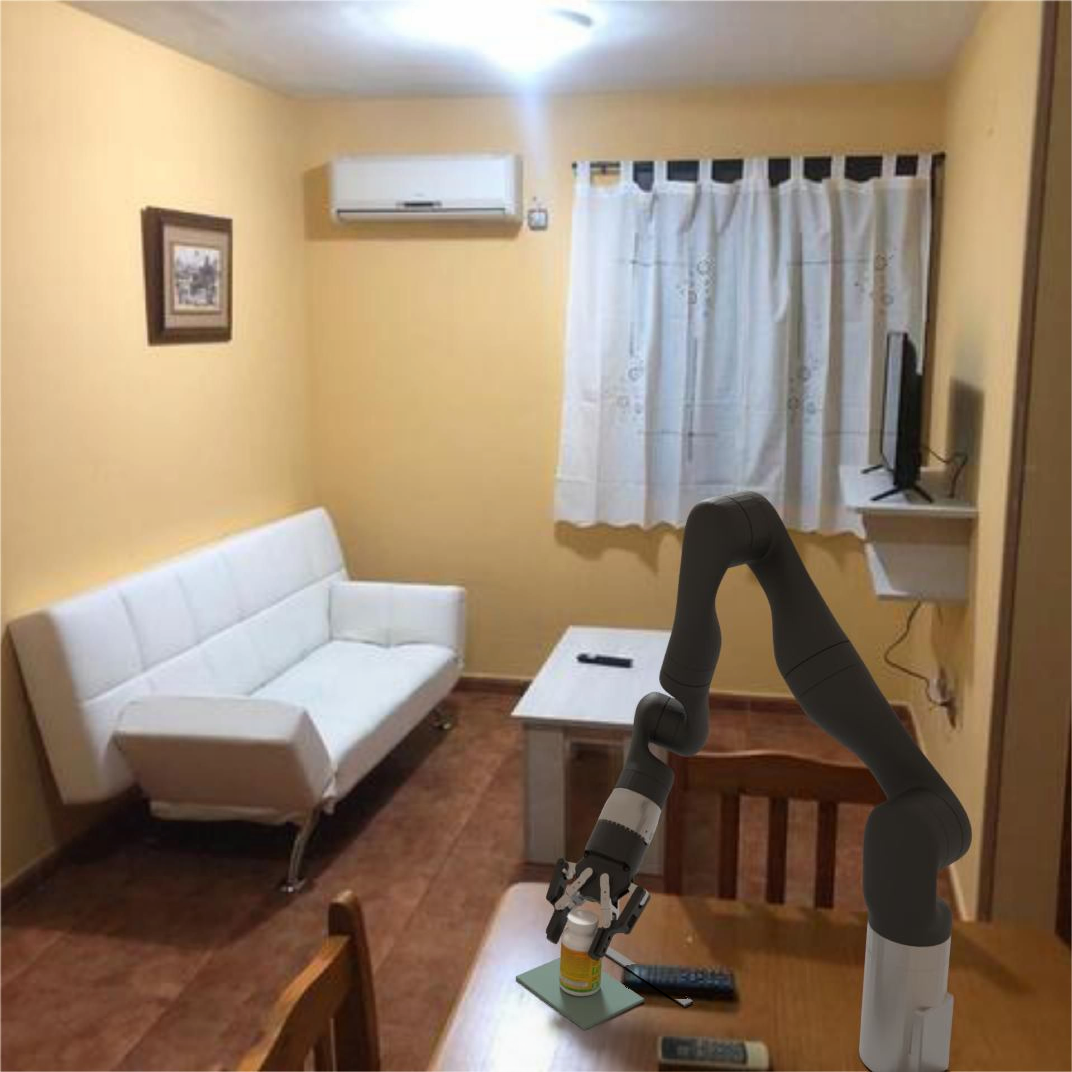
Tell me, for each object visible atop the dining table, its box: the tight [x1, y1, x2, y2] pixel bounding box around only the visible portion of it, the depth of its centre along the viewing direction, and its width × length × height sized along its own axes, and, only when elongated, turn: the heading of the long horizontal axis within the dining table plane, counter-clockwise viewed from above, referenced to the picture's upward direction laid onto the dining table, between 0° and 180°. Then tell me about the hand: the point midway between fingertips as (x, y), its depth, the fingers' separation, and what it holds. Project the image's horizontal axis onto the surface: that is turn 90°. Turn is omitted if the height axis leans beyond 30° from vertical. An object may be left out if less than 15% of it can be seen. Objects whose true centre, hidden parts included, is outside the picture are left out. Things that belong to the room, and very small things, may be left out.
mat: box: [515, 957, 645, 1031], centre depth 151 cm, size 14×10×1 cm
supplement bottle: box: [559, 909, 603, 996], centre depth 150 cm, size 5×5×10 cm
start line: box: [604, 946, 693, 1008], centre depth 156 cm, size 22×2×1 cm, turn 38°
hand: (571, 949), depth 148 cm, fingers open, 6 cm apart
